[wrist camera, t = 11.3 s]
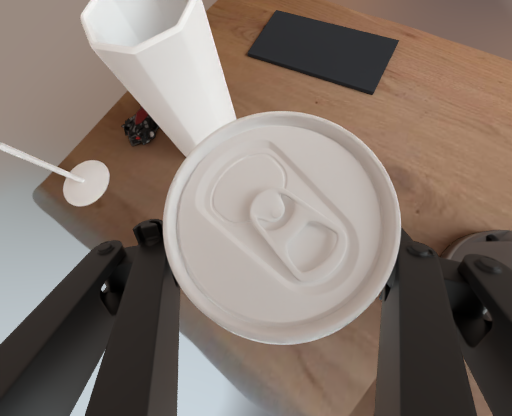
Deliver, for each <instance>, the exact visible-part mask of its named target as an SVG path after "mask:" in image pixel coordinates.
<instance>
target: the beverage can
mask: <svg viewBox="0 0 512 416" xmlns="http://www.w3.org/2000/svg"><path fill="white" fill-rule="evenodd" d="M400 238H401V216H400V208H399V203H398V199H397V195H396V192H395V189H394V186H393V184H392V182H391V179H390V177H389V175H388V173H387V172H386V170H385V168H384V167H383V165H382V163H381V162H380V161H379V159H378V158H377V157H376V155H375V154H374V153H373V152H372V151H371V150H370V149H369V147H368V146H366V145H365V144H364V143H363V142H362V141H361V140H360V139H359V138H357V137H356V136H355V135H354V134H352V133H351V132H349V131H348V130H346V129H344V128H343V127H341V126H339V125H337V124H335V123H333V122H331V121H329V120H326V119H324V118H321V117H318V116H314V115H310V114H306V113H300V112H291V111H272V112H264V113H258V114H253V115H249V116H246V117H243V118H240V119H237V120H235V121H232V122H230V123H228V124H226V125H224V126H222V127H221V128H219V129H217V130H216V131H214V132H213V133H211V134H210V135H209V136H207V137H206V138H205V139H204V140H202V141H201V142H200V143H199V144H198V145H197V146H196V147H195V148H194V149H193V150H192V151H191V152H190V154H189V155H188V156H187V157H186V159H185V160H184V161H183V163H182V164H181V166H180V167H179V169H178V171H177V173H176V175H175V176H174V179H173V181H172V183H171V186H170V188H169V191H168V194H167V198H166V202H165V207H164V214H163V239H164V246H165V251H166V255H167V259H168V262H169V265H170V267H171V270H172V272H173V275H174V277H175V279H176V280H177V282H178V284H179V286H180V287H181V289H182V290H183V292H184V293H185V294H186V296H187V297H188V298H189V300H190V301H191V302H192V303H193V304H194V305H195V306H196V307H197V308H198V309H199V310H200V311H201V312H202V313H203V314H204V315H206V316H207V317H208V318H210V319H211V320H212V321H214V322H215V323H216V324H218V325H219V326H221V327H222V328H224V329H226V330H228V331H229V332H231V333H233V334H236V335H238V336H240V337H243V338H246V339H249V340H252V341H256V342H261V343H266V344H275V345H291V344H300V343H306V342H310V341H314V340H317V339H320V338H323V337H326V336H328V335H330V334H333V333H334V332H336V331H338V330H340V329H342V328H343V327H345V326H346V325H348V324H349V323H351V322H352V321H353V320H355V319H356V318H357V317H358V316H359V315H360V314H361V313H362V312H363V311H364V310H365V309H366V308H367V307H368V306H369V305H370V304H371V303H372V302H373V301H374V300H375V298H376V297H377V296H378V295H379V293H380V292H381V290H382V289H383V287H384V286H385V284H386V282H387V280H388V279H389V277H390V275H391V272H392V270H393V267H394V265H395V262H396V259H397V255H398V251H399V245H400Z"/></svg>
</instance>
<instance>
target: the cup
mask: <svg viewBox="0 0 512 416" xmlns="http://www.w3.org/2000/svg"><path fill="white" fill-rule="evenodd" d="M80 21H81V23H82V26H83V28H84V31H85V34H86V36H87V39H88V41H89V44H90V47H91V48H92V49H93V50H94V52H95V53H96V54H97V55H98V56H99V57H100V58H101V60H103V62H104V63H105V64H106V65H107V67H108V68H109V69H110V70H111V71H112V72H113V73H114V75H115V76H116V77H117V78H118V79H119V80H120V82H121V83H122V84H123V85H124V86H125V87H126V89H127V90H128V91H129V92H130V93H131V94H132V95H133V97H134V98H135V99H136V100H137V101H138V102H139V104H140V105H141V106H142V107H143V108H144V109H145V111H146V112H147V113H148V114H149V115H150V116H151V117H152V119H153V120H154V121H155V122H156V123H157V124H158V126H159V127H160V128H161V129H162V130H163V131H164V133H165V134H166V135H167V136H168V137H169V138H170V139H171V141H172V142H173V143H174V144H175V145H176V146H177V148H178V149H179V150H180V151H181V152H182V153H183V155H184V156H186V157H187V156H188V155H189V154H190V152H191V151H192V150H193V149H194V148H195V147H196V146H197V145H198V144H199V143H200V142H201V141H202V140H204V139H205V138H206V137H207V136H209V135H210V134H211V133H213V132H214V131H216V130H217V129H219V128H221V127H222V126H224V125H226V124H228V123H230V122H232V121H235V120H237V119H236V115H235V112H234V109H233V105H232V102H231V98H230V95H229V91H228V88H227V85H226V81H225V78H224V74H223V71H222V67H221V64H220V60H219V57H218V54H217V50H216V47H215V43H214V40H213V36H212V33H211V30H210V26H209V23H208V19H207V16H206V12H205V9H204V6H203V2H202V0H90V2H89V3H88V4H87V6H86V7H85V9H84V11H83V12H82V13H81V18H80Z"/></svg>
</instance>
